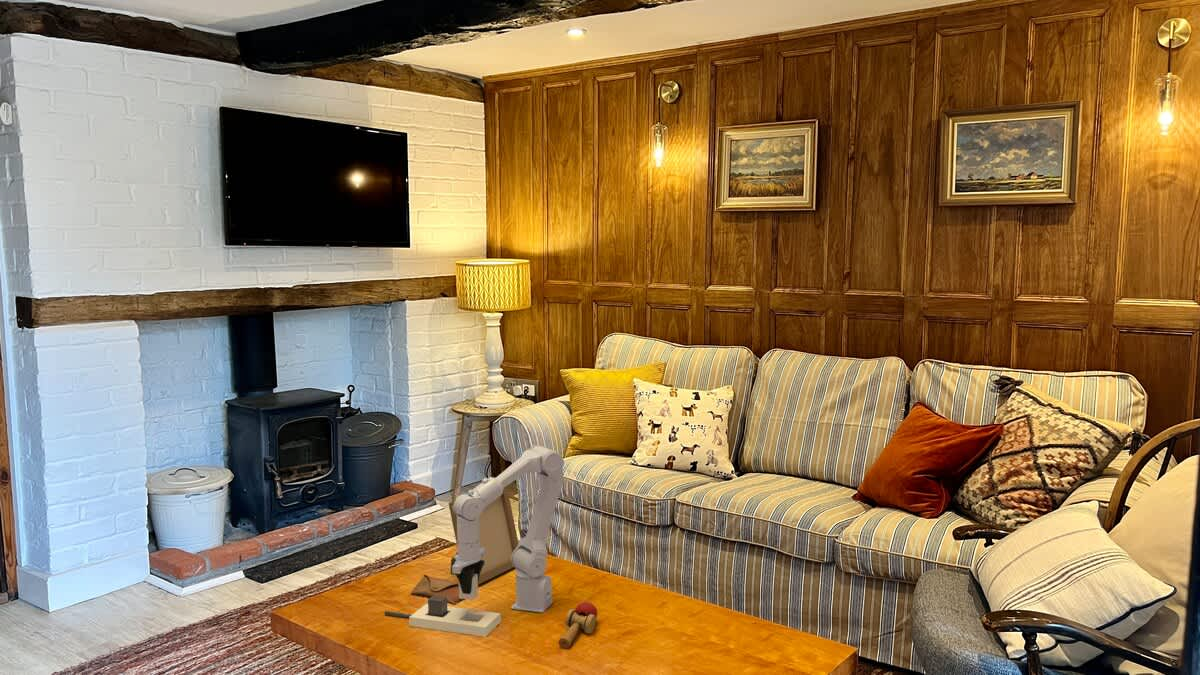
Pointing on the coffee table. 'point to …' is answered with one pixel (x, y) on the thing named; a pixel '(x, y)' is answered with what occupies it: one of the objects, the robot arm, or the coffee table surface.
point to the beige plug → (473, 590)
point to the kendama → (578, 622)
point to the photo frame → (494, 536)
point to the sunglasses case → (438, 589)
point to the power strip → (451, 618)
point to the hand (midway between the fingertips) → (469, 590)
